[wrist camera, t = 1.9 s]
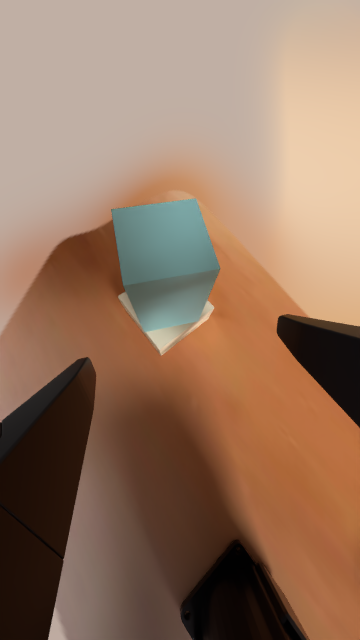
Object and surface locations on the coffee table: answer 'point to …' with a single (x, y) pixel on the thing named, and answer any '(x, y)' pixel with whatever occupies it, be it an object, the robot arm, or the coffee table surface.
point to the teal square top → (165, 261)
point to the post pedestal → (166, 336)
